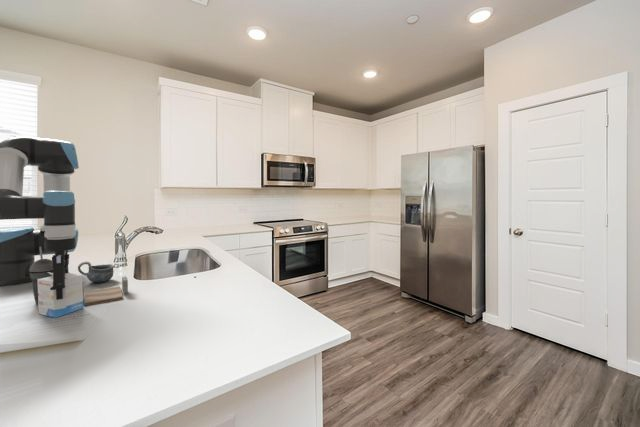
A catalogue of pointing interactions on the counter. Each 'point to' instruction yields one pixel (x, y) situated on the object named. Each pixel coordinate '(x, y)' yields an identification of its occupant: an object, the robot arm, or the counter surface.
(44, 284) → the ink box
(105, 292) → the roll holder
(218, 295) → the counter surface
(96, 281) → the mug
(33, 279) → the beverage cup
